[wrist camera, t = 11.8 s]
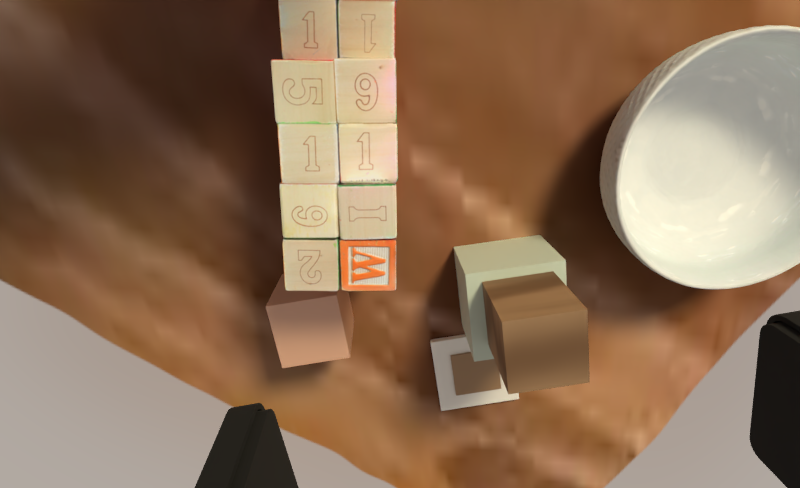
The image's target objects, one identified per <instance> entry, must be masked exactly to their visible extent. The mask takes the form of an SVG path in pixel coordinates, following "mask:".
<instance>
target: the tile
mask: <svg viewBox="0 0 800 488" xmlns="http://www.w3.org/2000/svg"><path fill="white" fill-rule="evenodd" d="M430 343H431V350H432V356H433V362H434V369H435V375H436V381H437V388H438V394H439V401H440V407H441V411H445V410H451V409H458V408H464V407H470V406H477V405H483V404H490V403H496V402H502V401H509V400H515V399H519V393H515V394H508V392H507V390H506V387H505V385H504V382H503V380H502V377H501V375H500V372H499V370H498V367H497V365H496V362H495V360H494V359H490V360H483V361H476V362H474V360H473V357H472V354H471V350H470V347H469V344H468V341H467V338H466V335H465V334H463V335H456V336H450V337H444V338H438V339H431V340H430Z"/></svg>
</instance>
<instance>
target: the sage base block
mask: <svg viewBox="0 0 800 488" xmlns="http://www.w3.org/2000/svg"><path fill="white" fill-rule="evenodd" d="M454 256H455V265H456V275H457V284H458V293H459V302H460V312H461V321H462V326H463V329H464V332H465V335H466V338H467V341H468V344H469V347H470V350H471V354H472V357H473V360H474V362H476V361H483V360H490V359H494V357H493V355H492V352H491V350H490V348H489V345H488V337H487V327H486V317H485V307H484V298H483V288H482V282H484V281H491V280H498V279H504V278H511V277H518V276H524V275H531V274H538V273H544V272H551V271H554V273H555V274H556V275H557V276H558V277H559V278H560V279H561V280H562V281H563V283H564V284H565V285H566V286H567V281H566V260H565V259H564V258H563V257H562V256H561V255H560V254H559V253H558V252H557V251H556V250H555V249H554V248H553V247H552V246H551V245H550V244H549V243H548V242H547V241H546V240H545V239H544V238H543V237H542V236H541V235H535V236H528V237H521V238H514V239H507V240H500V241H492V242H485V243H478V244H471V245H464V246H457V247H454Z"/></svg>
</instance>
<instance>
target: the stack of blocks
mask: <svg viewBox="0 0 800 488" xmlns="http://www.w3.org/2000/svg"><path fill="white" fill-rule="evenodd" d="M396 3H397V0H278V9H279V23H280V35H281V48H282V57H283V59H272V60H271V70H272V83H273V96H274V108H275V121H276V123H277V125H278V143H279V156H280V171H281V180H282V182H281V183H280V186H279V188H280V203H281V218H282V234H283V237H284V238H283V242H282V246H283V265H284V283H285V289H286V290H287V291H338V290H339V289H340V288H341V289H342V290H345V291H392V290H396V237H397V207H396V182H397V181H398V137H397V121H396V120H397V102H396V59H395V18H396Z"/></svg>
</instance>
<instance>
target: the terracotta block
mask: <svg viewBox="0 0 800 488" xmlns="http://www.w3.org/2000/svg"><path fill="white" fill-rule="evenodd" d="M266 310H267V314H268V318H269V321H270V325H271V329H272V332H273V336H274V340H275V343H276V347H277V351H278V354H279V358H280V362H281V365H282V368H287V367H293V366H299V365H306V364H312V363H318V362H325V361H331V360H337V359H343V358H350V355H351V345H352V336H353V327H354V316H353V311H352V306H351V301H350V296H349V292H348V291H345V290H342V289H341V288H340V289H339V290H338V291H287V290H286V289H285V283H284V274H282V275H281V277H280V279H279V281H278V283H277V285H276V287H275V289H274V291H273V293H272V295H271V297H270V299H269V301H268V303H267V305H266Z"/></svg>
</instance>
